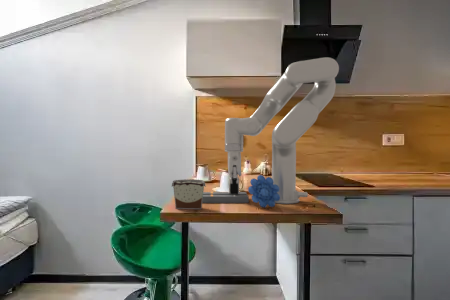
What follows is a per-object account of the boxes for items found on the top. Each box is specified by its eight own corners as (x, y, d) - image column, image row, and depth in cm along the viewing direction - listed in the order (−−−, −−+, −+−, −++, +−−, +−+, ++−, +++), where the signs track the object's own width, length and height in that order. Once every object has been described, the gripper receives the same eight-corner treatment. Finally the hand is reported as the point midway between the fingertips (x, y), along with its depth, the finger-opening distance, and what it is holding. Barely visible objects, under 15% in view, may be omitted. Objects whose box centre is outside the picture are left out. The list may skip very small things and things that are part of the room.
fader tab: (238, 195, 147) (238, 177, 147) (238, 196, 144) (238, 178, 144) (228, 195, 147) (228, 177, 147) (229, 196, 144) (229, 178, 144)
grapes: (248, 209, 126) (248, 175, 126) (248, 206, 133) (248, 174, 132) (281, 210, 125) (281, 176, 125) (279, 206, 132) (279, 174, 132)
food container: (207, 206, 132) (208, 179, 132) (205, 209, 126) (205, 181, 126) (175, 205, 133) (175, 179, 133) (171, 208, 127) (171, 180, 127)
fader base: (245, 197, 152) (245, 191, 152) (248, 202, 140) (248, 196, 140) (201, 197, 151) (201, 191, 151) (200, 202, 139) (200, 196, 139)
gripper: (245, 148, 137) (244, 196, 137) (241, 147, 153) (241, 190, 154) (225, 148, 136) (225, 196, 137) (224, 147, 153) (223, 190, 154)
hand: (233, 192), depth 145 cm, fingers open, 3 cm apart
